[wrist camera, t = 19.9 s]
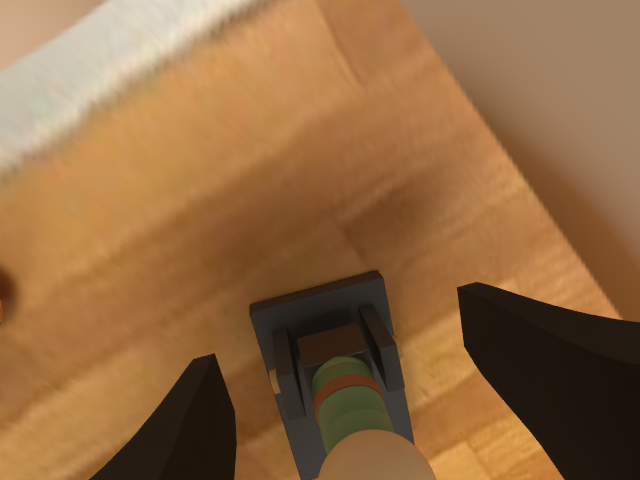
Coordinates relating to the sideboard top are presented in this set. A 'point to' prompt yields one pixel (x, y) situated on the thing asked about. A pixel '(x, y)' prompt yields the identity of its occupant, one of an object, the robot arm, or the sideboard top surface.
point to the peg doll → (354, 412)
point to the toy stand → (314, 317)
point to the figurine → (1, 311)
